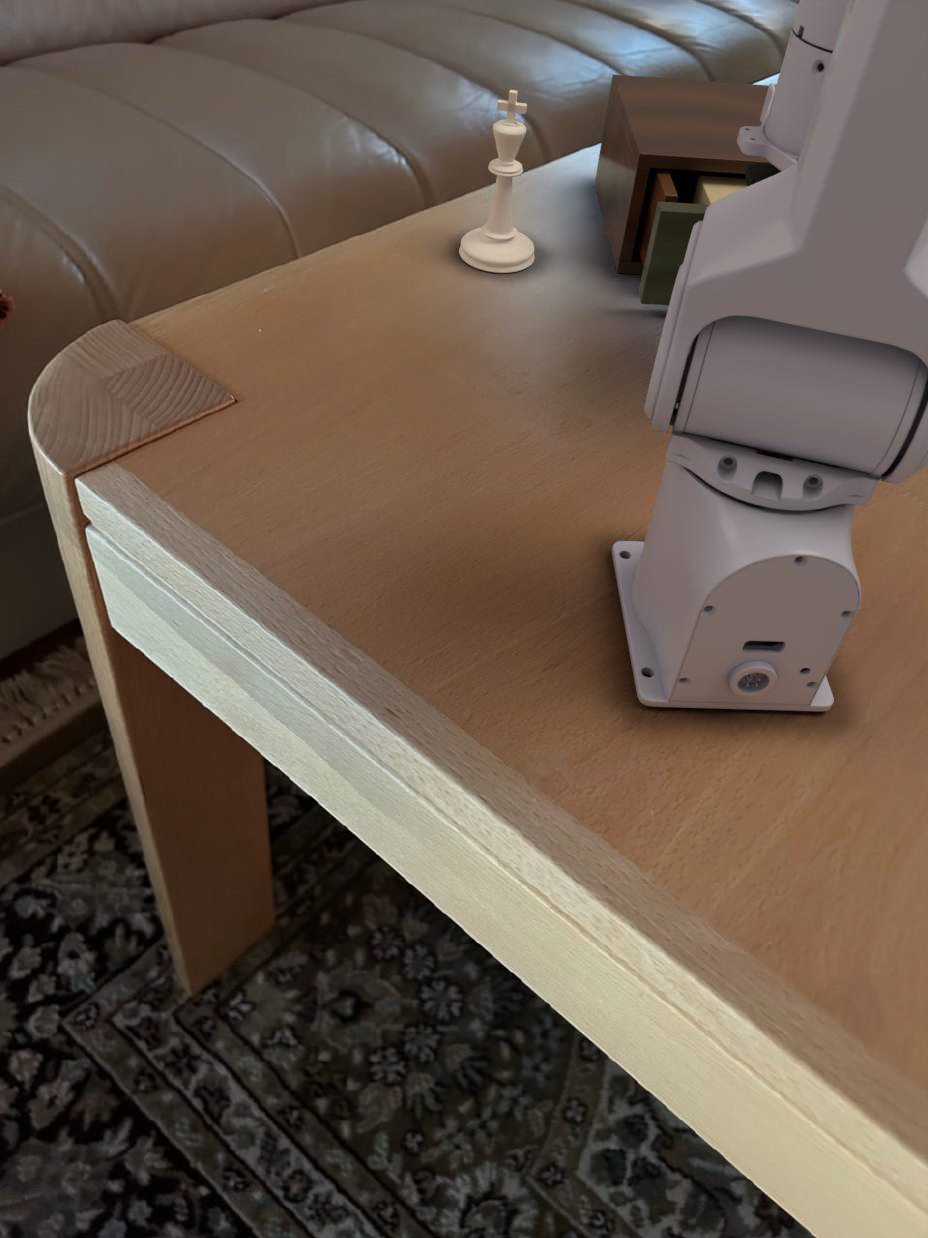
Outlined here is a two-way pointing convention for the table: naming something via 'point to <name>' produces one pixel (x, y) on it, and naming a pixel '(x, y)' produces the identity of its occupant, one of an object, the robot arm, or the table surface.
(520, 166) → the chess piece
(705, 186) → the block
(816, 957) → the table surface
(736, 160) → the cabinet
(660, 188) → the drawer
